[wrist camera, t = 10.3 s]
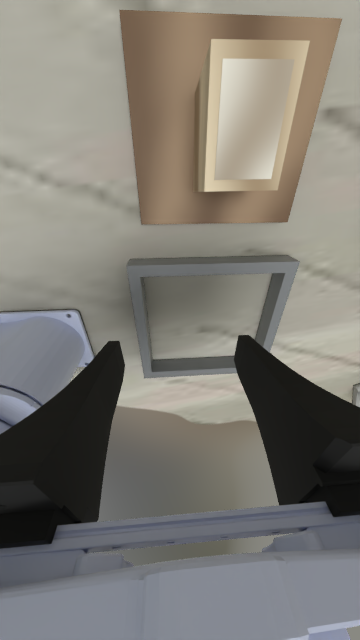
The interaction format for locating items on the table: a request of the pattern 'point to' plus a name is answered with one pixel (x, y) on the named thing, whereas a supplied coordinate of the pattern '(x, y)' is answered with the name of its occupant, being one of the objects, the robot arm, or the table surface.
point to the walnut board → (179, 110)
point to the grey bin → (156, 267)
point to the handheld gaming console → (356, 395)
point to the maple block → (245, 113)
